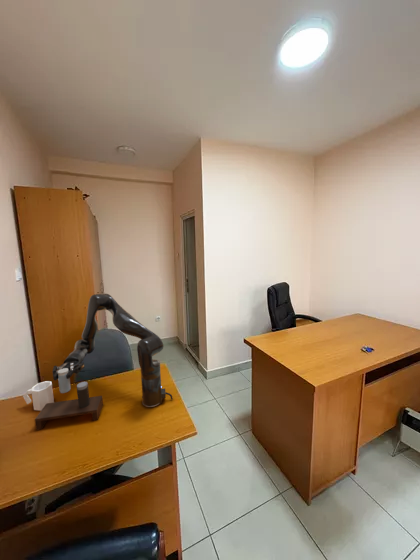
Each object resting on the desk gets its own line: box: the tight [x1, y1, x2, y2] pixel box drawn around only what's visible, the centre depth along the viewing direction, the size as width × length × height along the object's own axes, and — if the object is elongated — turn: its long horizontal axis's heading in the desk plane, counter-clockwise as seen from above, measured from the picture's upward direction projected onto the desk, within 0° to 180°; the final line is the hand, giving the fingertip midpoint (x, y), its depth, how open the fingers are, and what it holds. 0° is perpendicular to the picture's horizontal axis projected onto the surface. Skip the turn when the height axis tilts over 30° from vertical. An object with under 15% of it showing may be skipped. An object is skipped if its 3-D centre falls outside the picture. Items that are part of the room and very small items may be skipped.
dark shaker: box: [76, 381, 90, 408], centre depth 102 cm, size 4×4×10 cm
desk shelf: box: [34, 395, 104, 431], centre depth 102 cm, size 24×10×5 cm, turn 102°
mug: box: [22, 380, 55, 412], centre depth 109 cm, size 12×9×10 cm
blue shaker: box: [57, 368, 72, 394], centre depth 105 cm, size 4×4×10 cm
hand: (61, 377), depth 102 cm, fingers closed on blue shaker, 4 cm apart
